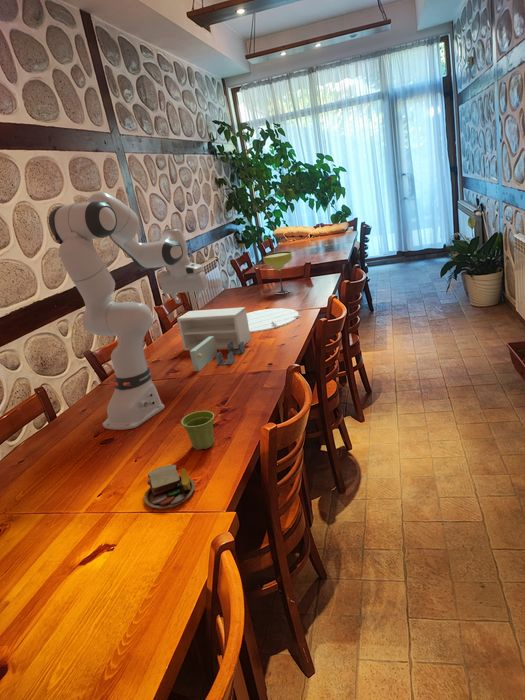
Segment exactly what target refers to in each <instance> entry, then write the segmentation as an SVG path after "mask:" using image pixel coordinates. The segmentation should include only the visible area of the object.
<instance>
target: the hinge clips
mask: <svg viewBox="0 0 525 700" xmlns="http://www.w3.org/2000/svg"><path fill="white" fill-rule="evenodd" d="M227 346H228V349H227V350H228V351H227V352H228V354H227V355H226V357H227V360H225V359H224V358H223V351H219V352H217V355H216V357H215V358H216V364H217V366H227V365H226V364H231V365H232V364H234V362H235V356H234V355H242V354H243V353H245V352H246V349H245V346H244V342H241V343H240V344H239V345H238V346H239V349H234V347H233V342H230V343H229V344H228V345H227Z"/></svg>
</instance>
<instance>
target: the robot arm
mask: <svg viewBox="0 0 525 700" xmlns="http://www.w3.org/2000/svg"><path fill="white" fill-rule="evenodd" d="M48 224H49V225H48V226H49V229H50V232H51V234H52V236H54V239H55V241H56V242H57V243H59V247H58V255H59V258H60V260H61V263H62V264H63V265H62V266H63V267H64V269H65V271H66V273H67V275H68V276H69V278H70V280H71V281H72V283H73V285H75V288H76V289H77V291H78V292H79V294H80V296H81V297H82V299H83V302H84V305H85V310H84V312H83V314H82V318H81V319H82V320H81V321H82V326H83V328H84V330H85V331H86V332H87V333H88V334H92V335H95V336H101V337H110V336H111V337H112V336H113V337H114V336H116V338H117V346H116V347H115V348H114V349H112V352H111V354H110V359H111V365H112V367H113V370H114V373H115V376H114V381H113V380H112V381H111V380H110V381H109V383H108V387H110V388H115V389H114V391H113V394H112V396H111V399H110V401H109V403H108V405H107V407H106V412H107V418H106V419H105V421H104V422H102V427H103V428H104V429H107V430H115V431H117V430H118V431H119V430H120V431H122V430H129V429H135V428H137V427H139V426H140V425H142V424H143V423H144V422H146V421H148V420H150V419H151V418H152V417H153V416H155V415H156V414H158V413H160V412H161V411H162V410H164V409H165V408H166V407H165V405H164V403H163V402H162V400H161V398H160V395H159V393H158V389H157V387H156V385H155V384H154V383H153V381H152V374H151V373H152V372H151V370H150V367H148V364H147V359H146V356H145V351H144V341H145V336H146V334H147V333H148V332H149V331H150V329H151V327H152V325H153V321H154V316H153V312H152V310H151V308H150V307H149V306H148V305H147V304H146V303H142V302H136V301H123V302H116V301H115V300H113V298H112V295H113V294H114V292H115V288H116V281H115V279H114V278H113V275H112V274H111V272H110V271H109V269H108V267H107V265H106V264H105V262H104V261H103V259H102V257H101V256H100V254H99V253H98V252H97V249H95V245H94V240H96V239H104V238H108V237H109V238H110V240H111V241H112V242H113V243H114V244H115V246H117V247H118V248H119V249H120V250H122V251H123V252H124V253H125V254H126V255H127V256H128V257H130V259H131V261H132V262H133V263H134V265H136V267H137V268H139V269H140V270H149V269H150V270H151V269H155V268H163V267H165V268H166V267H168V269H169V270H163V271H161V272H160V274H159V279H160V282H161V283H160V287H161V291H162V293H163V294H164V295H168V294H170V296H171V297H172V298H173V300H174V301H175V304H181V302H182V301H181V298H179V297H178V296H177V295H178V294H179V293H180V294H182V293H191V292H195V294H196V297H195V298H194V301H195V302H196V303H199V302H201V295H202V291H203V292H204V291H206V290H208V288H209V281H208V278H207V275H206V273H205V271H203V270H204V266H203V265H202V264H198V263H194V262H191V259H190V257H189V254H188V245H187V242H186V238H185V235H184V233H183V231H182V230H181V229H180V228H167V229H164V230H162V234H161V235H162V236H161V237H160V239H159V240H157V241H152V242H138V241H137V240H136V239H135V237H136V235H137V234H138V232H139V227H140V219H139V216H138V215H137V214H136V212H135V211H134V210H133V209H132V208H131V207H130V206H128V205H126V204H125V203H124V202H122V201H121V200H120V199H118V198H116V197H115V196H113V195H111V194H109V193H107V192H105V191H97V192H95V193H92V194H91V195H90V196H89V197H88V198H87V201H86V202H75V203H70V204H67V205H60V206H58V207H56V208H54V209H53V210H52V211H51V212H50V214H49V215H48Z"/></svg>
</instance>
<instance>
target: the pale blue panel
mask: <svg viewBox="0 0 525 700" xmlns="http://www.w3.org/2000/svg"><path fill="white" fill-rule="evenodd" d="M217 354H218V349H216V344H215V339H214V336H209V337H208V338H206V339H205V340H204V341H202V342H201V343H200V344H199V345H197V346H196V347H195V348H193V349H192V350H189V355H190V360H191V362H192V367H193V368H192V369H193V371H194V372H201V370H202V369H203V368H205V367H206V366H207V365H208V364H209V363H210V362H212V361H213V360H214V359H215V358H216V355H217ZM213 358H214V359H213ZM212 359H213V360H212ZM207 363H208V364H207ZM206 364H207V365H206ZM205 365H206V366H205ZM204 366H205V367H204Z"/></svg>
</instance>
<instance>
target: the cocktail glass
mask: <svg viewBox="0 0 525 700" xmlns="http://www.w3.org/2000/svg"><path fill="white" fill-rule="evenodd" d="M292 257H293V256H292V253H291V252H290V251H280V252H274V253H269V254H265V255H264V256H263V257H262V259H263V263H264V264H265V265H267V266H270V267H272V268H275V269H276V271H278V274H279V281H280V290H278V291H279V292H278V291H276V292H277V293H285V292H288V291H287V290H288V289H285V290H284V287H283V282H282V277H281V270H282V268H283V267H284V266H285V265H286V264H288V263H289V262H290V261H291V259H292Z"/></svg>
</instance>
